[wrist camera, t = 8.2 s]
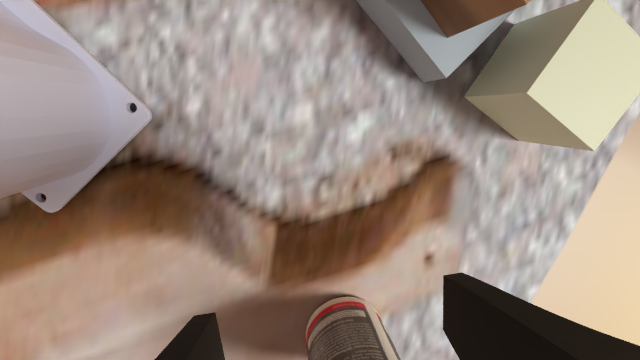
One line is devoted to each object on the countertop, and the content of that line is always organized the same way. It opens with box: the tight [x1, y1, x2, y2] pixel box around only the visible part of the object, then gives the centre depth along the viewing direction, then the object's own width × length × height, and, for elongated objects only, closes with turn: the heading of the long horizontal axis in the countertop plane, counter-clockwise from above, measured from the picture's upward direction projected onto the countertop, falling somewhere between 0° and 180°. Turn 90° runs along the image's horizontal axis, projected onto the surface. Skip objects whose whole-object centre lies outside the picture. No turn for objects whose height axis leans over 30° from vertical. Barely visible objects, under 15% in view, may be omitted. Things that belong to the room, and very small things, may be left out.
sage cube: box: [464, 0, 640, 151], centre depth 16 cm, size 5×5×5 cm
